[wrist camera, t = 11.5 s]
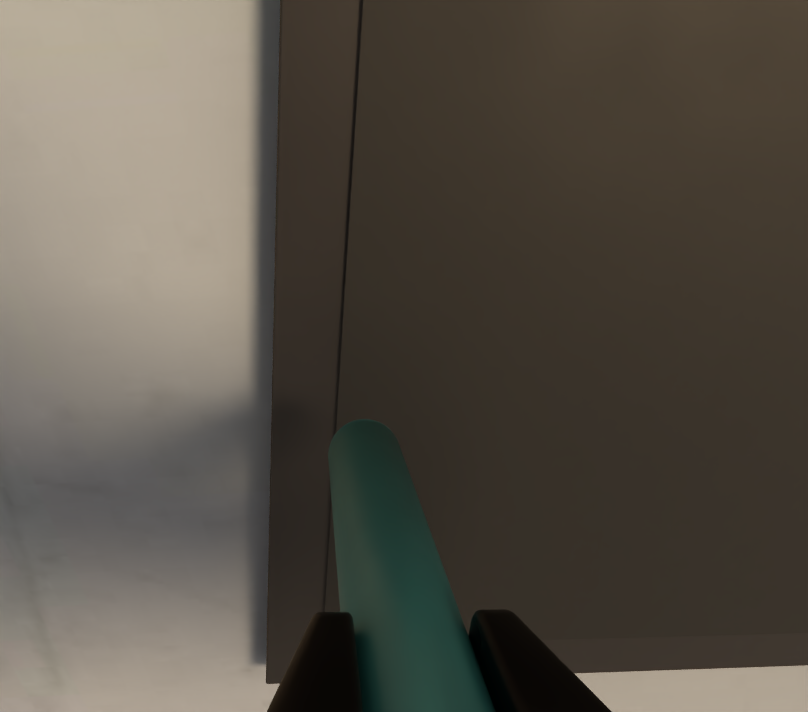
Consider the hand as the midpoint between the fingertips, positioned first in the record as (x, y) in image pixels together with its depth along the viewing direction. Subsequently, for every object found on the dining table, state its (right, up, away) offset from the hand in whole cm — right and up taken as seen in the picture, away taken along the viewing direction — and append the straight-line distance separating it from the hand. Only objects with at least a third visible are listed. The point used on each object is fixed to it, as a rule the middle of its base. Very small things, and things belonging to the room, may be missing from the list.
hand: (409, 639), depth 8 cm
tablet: (+11, +3, +11) cm, 15 cm away
